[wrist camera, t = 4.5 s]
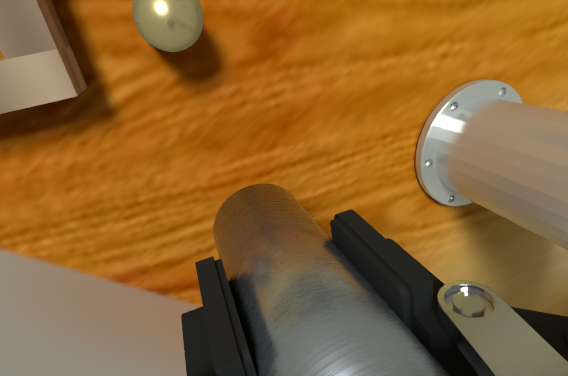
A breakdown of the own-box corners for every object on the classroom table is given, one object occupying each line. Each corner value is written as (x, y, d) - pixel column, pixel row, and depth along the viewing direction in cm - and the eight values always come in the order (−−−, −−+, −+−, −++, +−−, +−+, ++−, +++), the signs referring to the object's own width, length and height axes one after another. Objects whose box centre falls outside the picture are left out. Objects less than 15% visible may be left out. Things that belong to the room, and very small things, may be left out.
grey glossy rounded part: (184, -17, 23) (192, -29, 19) (199, 42, 25) (210, 44, 21) (126, -7, 23) (122, -17, 18) (146, 54, 24) (146, 58, 20)
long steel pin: (294, 172, 14) (532, 404, 5) (308, 248, 15) (510, 527, 7) (201, 200, 13) (296, 529, 4) (226, 277, 15) (333, 635, 6)
